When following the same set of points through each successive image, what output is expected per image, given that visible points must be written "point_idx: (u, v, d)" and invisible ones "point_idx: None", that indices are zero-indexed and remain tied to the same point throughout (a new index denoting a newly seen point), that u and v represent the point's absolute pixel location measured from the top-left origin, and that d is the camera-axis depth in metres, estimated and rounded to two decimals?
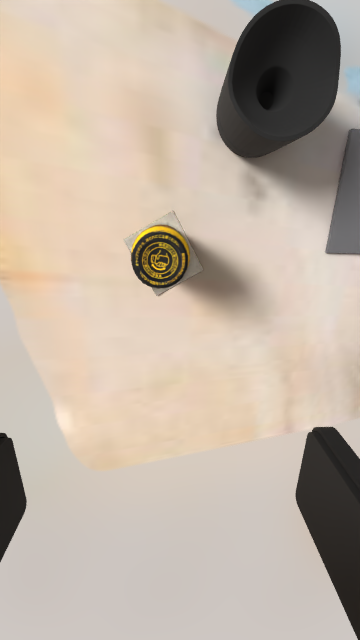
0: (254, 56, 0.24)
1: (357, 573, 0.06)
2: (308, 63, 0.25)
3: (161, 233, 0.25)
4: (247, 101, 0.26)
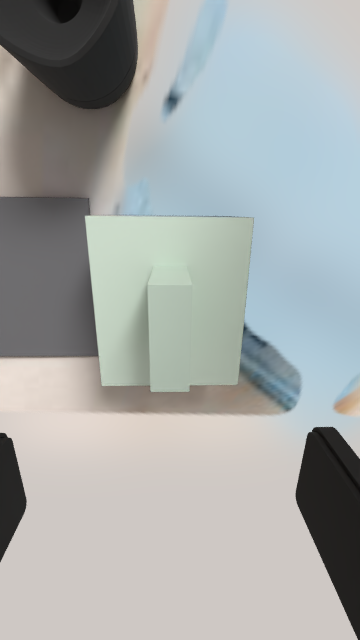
0: None
1: (357, 573, 0.06)
2: (84, 32, 0.17)
3: None
4: None
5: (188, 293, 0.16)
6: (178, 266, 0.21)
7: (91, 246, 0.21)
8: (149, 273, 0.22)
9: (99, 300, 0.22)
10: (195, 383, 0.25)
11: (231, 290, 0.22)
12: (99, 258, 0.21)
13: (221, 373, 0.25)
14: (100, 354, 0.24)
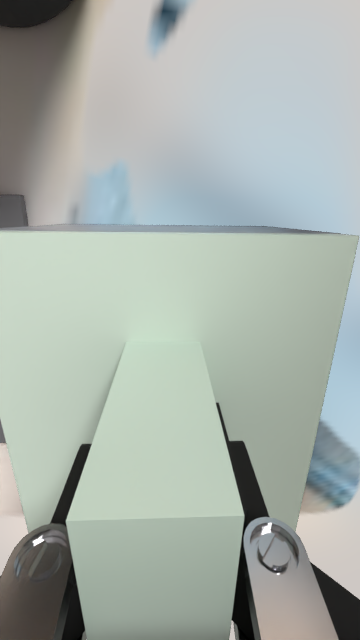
0: None
1: None
2: None
3: None
4: None
5: (227, 539, 0.04)
6: (181, 343, 0.09)
7: None
8: (117, 356, 0.10)
9: (11, 410, 0.10)
10: None
11: (295, 386, 0.10)
12: (1, 328, 0.09)
13: None
14: (25, 504, 0.12)
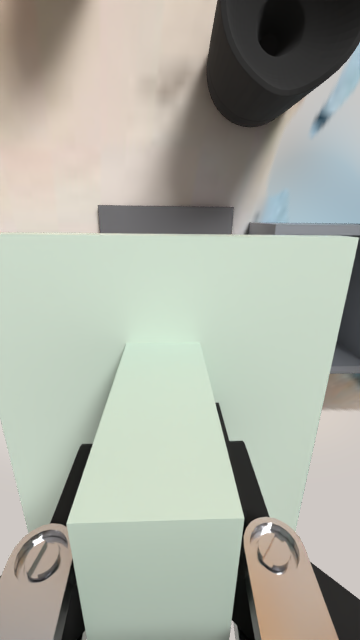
0: None
1: None
2: (304, 65, 0.20)
3: None
4: None
5: (227, 542, 0.04)
6: (181, 345, 0.09)
7: None
8: (117, 358, 0.10)
9: (12, 411, 0.10)
10: None
11: (294, 388, 0.10)
12: (1, 329, 0.09)
13: None
14: (25, 505, 0.12)
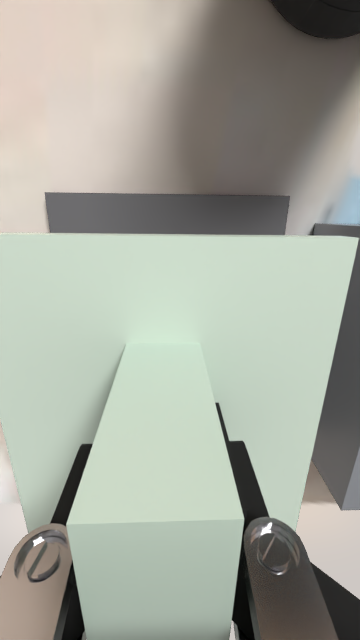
0: None
1: None
2: None
3: None
4: None
5: (227, 542, 0.04)
6: (181, 345, 0.09)
7: None
8: (117, 358, 0.10)
9: (12, 412, 0.10)
10: None
11: (294, 388, 0.10)
12: (1, 330, 0.09)
13: None
14: (25, 505, 0.12)
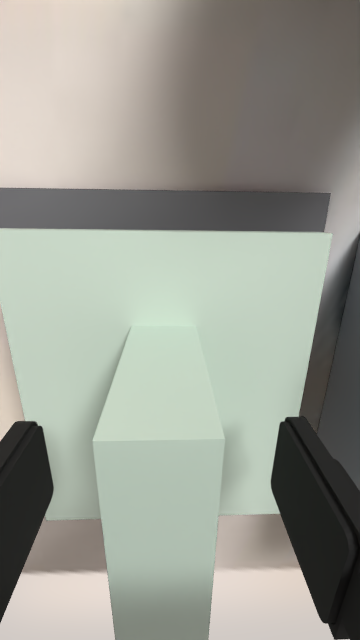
0: None
1: (316, 549, 0.07)
2: None
3: None
4: None
5: (213, 459, 0.06)
6: (179, 327, 0.11)
7: (5, 289, 0.10)
8: (123, 339, 0.11)
9: (30, 387, 0.12)
10: None
11: (279, 366, 0.12)
12: (22, 313, 0.11)
13: (254, 498, 0.14)
14: None
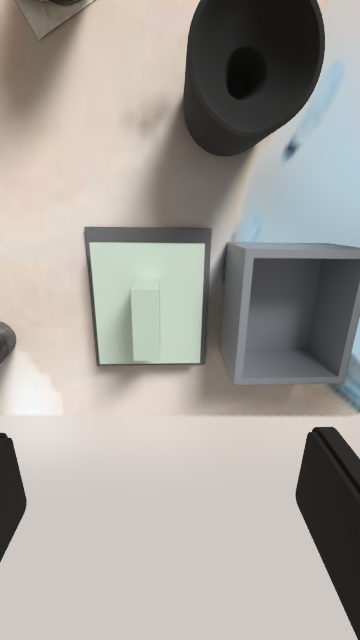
0: (277, 30, 0.21)
1: (357, 573, 0.06)
2: (266, 109, 0.22)
3: None
4: (233, 25, 0.20)
5: (157, 294, 0.25)
6: (154, 277, 0.31)
7: (93, 263, 0.30)
8: (134, 281, 0.31)
9: (98, 301, 0.31)
10: (168, 361, 0.34)
11: (192, 293, 0.32)
12: (98, 271, 0.30)
13: (187, 354, 0.34)
14: (99, 340, 0.33)
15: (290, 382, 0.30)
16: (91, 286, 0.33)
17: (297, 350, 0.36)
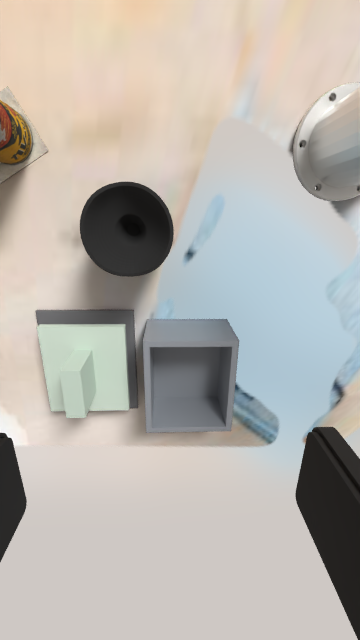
0: (147, 207, 0.30)
1: (357, 573, 0.06)
2: (146, 253, 0.32)
3: None
4: (117, 205, 0.30)
5: (78, 374, 0.35)
6: (87, 350, 0.40)
7: (41, 340, 0.40)
8: (72, 353, 0.41)
9: (46, 366, 0.41)
10: (104, 409, 0.44)
11: (118, 360, 0.41)
12: (45, 346, 0.40)
13: (119, 404, 0.44)
14: (49, 394, 0.43)
15: (189, 430, 0.40)
16: None
17: (209, 398, 0.46)
